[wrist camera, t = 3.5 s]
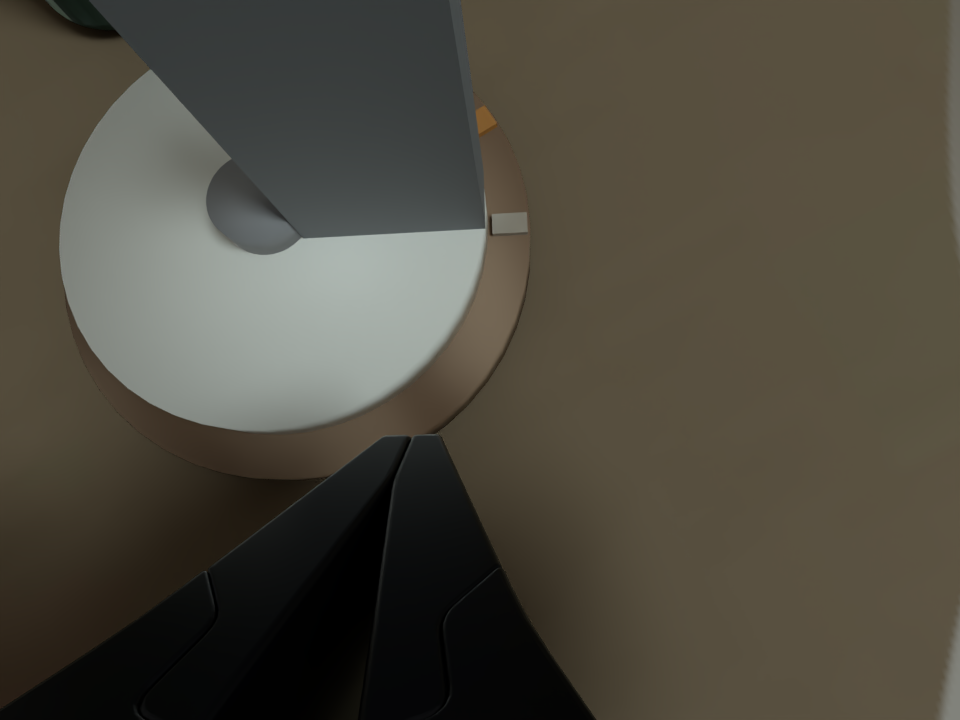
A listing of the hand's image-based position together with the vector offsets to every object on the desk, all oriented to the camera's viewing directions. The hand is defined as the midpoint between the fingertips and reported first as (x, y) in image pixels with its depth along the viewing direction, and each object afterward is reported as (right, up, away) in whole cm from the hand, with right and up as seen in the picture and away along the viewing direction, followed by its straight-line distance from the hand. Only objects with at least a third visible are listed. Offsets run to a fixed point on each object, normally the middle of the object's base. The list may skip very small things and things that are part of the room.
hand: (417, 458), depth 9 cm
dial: (-5, +5, +9) cm, 12 cm away
